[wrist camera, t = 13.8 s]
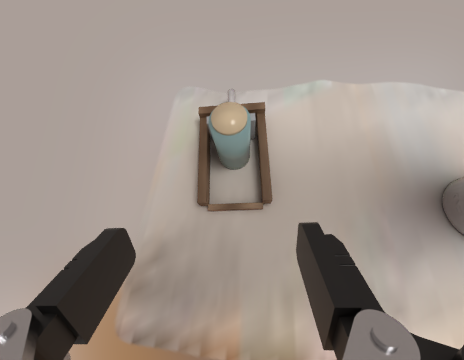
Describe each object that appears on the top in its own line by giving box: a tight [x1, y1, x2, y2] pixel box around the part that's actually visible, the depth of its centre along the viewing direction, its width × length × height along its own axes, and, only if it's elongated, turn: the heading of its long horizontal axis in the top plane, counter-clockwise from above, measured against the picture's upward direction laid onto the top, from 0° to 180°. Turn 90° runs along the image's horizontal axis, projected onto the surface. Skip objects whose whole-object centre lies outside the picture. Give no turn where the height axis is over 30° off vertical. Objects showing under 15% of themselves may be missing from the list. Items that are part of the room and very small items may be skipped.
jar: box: [209, 102, 251, 169], centre depth 28 cm, size 5×5×10 cm
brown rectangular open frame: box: [197, 102, 272, 211], centre depth 30 cm, size 10×16×4 cm, turn 1°
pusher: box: [207, 89, 256, 141], centre depth 32 cm, size 7×8×5 cm
